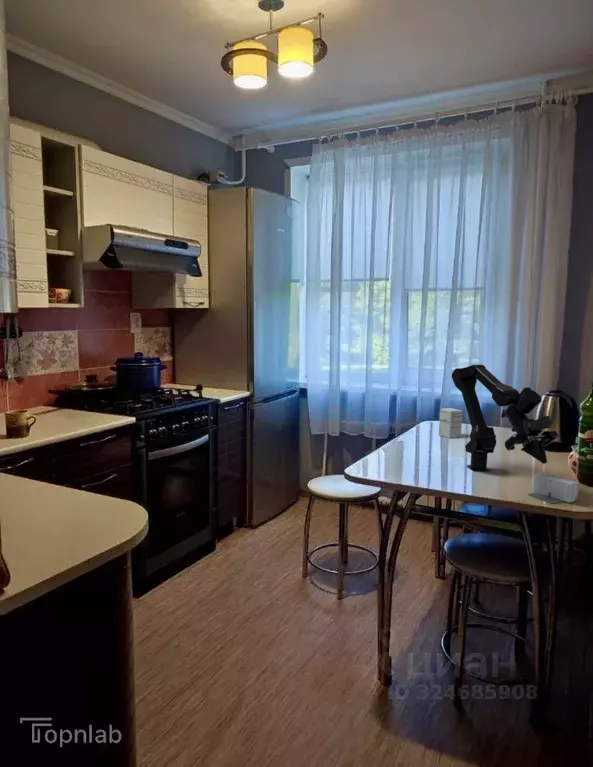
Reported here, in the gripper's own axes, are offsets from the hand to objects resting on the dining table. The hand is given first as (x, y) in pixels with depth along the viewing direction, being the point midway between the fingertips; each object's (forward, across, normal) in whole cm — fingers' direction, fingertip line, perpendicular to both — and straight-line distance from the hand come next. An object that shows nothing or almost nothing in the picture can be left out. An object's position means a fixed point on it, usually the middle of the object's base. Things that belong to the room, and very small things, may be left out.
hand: (545, 463), depth 175 cm
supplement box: (-46, +30, +62) cm, 83 cm away
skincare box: (+3, 0, +7) cm, 8 cm away
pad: (+9, 0, +5) cm, 11 cm away
